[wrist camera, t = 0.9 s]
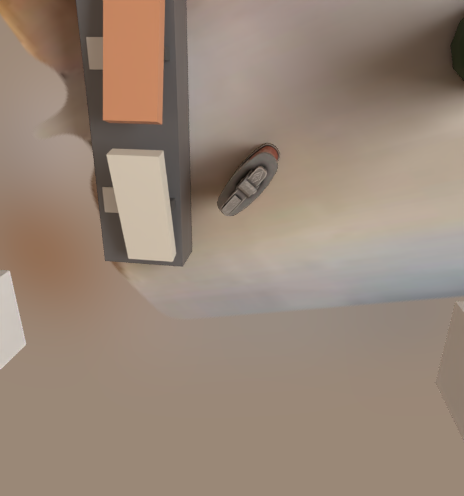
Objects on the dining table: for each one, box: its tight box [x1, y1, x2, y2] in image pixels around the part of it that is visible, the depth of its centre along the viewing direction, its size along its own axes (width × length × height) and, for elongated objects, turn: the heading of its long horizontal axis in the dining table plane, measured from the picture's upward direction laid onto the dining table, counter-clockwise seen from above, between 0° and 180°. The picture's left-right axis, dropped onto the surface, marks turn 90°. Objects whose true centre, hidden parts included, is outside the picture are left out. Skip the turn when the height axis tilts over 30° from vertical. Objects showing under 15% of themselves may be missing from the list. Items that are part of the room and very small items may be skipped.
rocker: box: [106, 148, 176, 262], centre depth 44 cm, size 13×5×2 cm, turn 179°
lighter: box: [217, 143, 280, 216], centre depth 44 cm, size 8×3×10 cm, turn 139°
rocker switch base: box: [76, 0, 192, 266], centre depth 42 cm, size 50×10×7 cm, turn 179°
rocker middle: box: [103, 0, 165, 125], centre depth 38 cm, size 13×5×2 cm, turn 179°
